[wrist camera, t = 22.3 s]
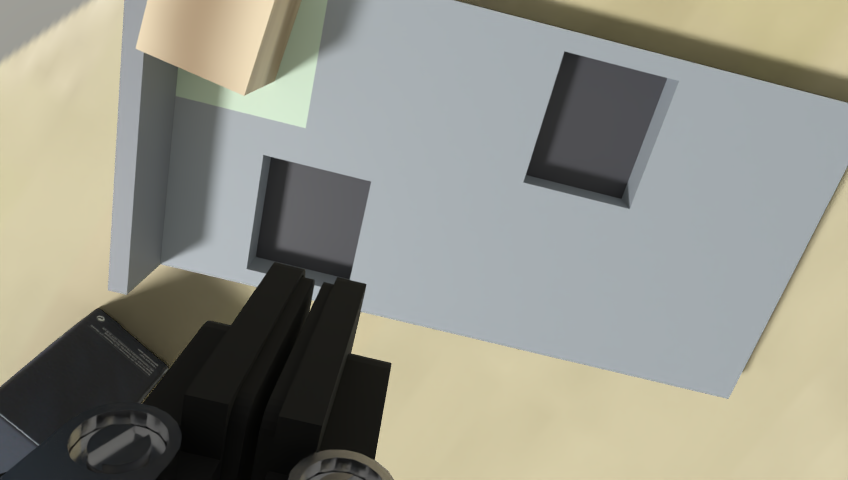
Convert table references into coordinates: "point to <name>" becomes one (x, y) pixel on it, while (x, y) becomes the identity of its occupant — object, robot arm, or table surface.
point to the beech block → (220, 38)
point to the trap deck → (486, 183)
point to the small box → (73, 383)
